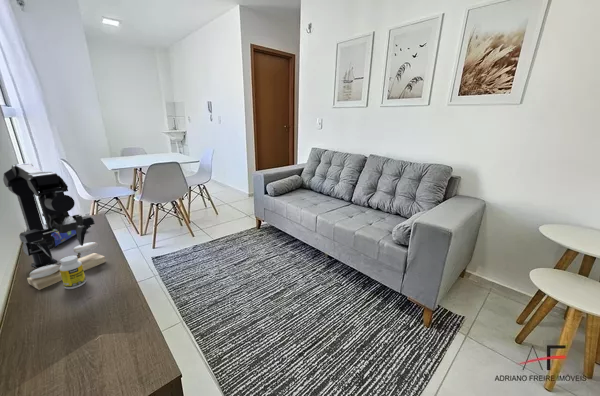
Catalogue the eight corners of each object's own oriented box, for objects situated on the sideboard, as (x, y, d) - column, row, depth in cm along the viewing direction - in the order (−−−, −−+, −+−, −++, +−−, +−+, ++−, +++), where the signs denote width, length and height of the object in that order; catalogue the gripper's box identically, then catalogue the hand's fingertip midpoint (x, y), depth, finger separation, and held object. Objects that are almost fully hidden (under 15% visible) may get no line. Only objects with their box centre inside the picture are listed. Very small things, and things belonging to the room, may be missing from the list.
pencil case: (71, 231, 141) (67, 215, 139) (88, 230, 143) (84, 214, 140) (40, 249, 121) (35, 231, 118) (61, 247, 122) (56, 229, 120)
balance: (29, 284, 94) (22, 264, 92) (95, 257, 113) (91, 240, 111) (39, 289, 91) (32, 269, 88) (105, 261, 110) (101, 244, 108)
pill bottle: (73, 290, 90) (66, 263, 87) (60, 288, 92) (52, 261, 89) (90, 280, 96) (84, 255, 93) (77, 278, 97) (70, 253, 94)
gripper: (26, 219, 75) (42, 266, 79) (97, 203, 91) (107, 243, 95) (11, 216, 80) (27, 261, 83) (81, 202, 96) (91, 239, 100)
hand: (66, 250), depth 90 cm, fingers open, 9 cm apart
